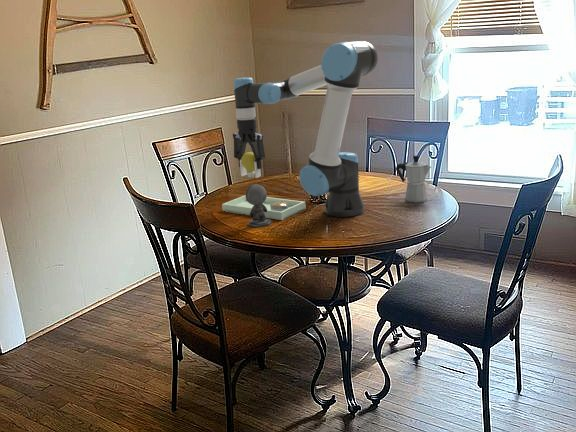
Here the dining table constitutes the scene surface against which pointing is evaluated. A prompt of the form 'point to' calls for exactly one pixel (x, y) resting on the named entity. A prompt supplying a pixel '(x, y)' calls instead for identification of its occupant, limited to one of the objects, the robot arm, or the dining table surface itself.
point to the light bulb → (248, 163)
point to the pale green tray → (245, 208)
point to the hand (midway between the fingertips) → (251, 176)
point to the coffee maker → (414, 180)
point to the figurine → (257, 206)
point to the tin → (279, 206)
